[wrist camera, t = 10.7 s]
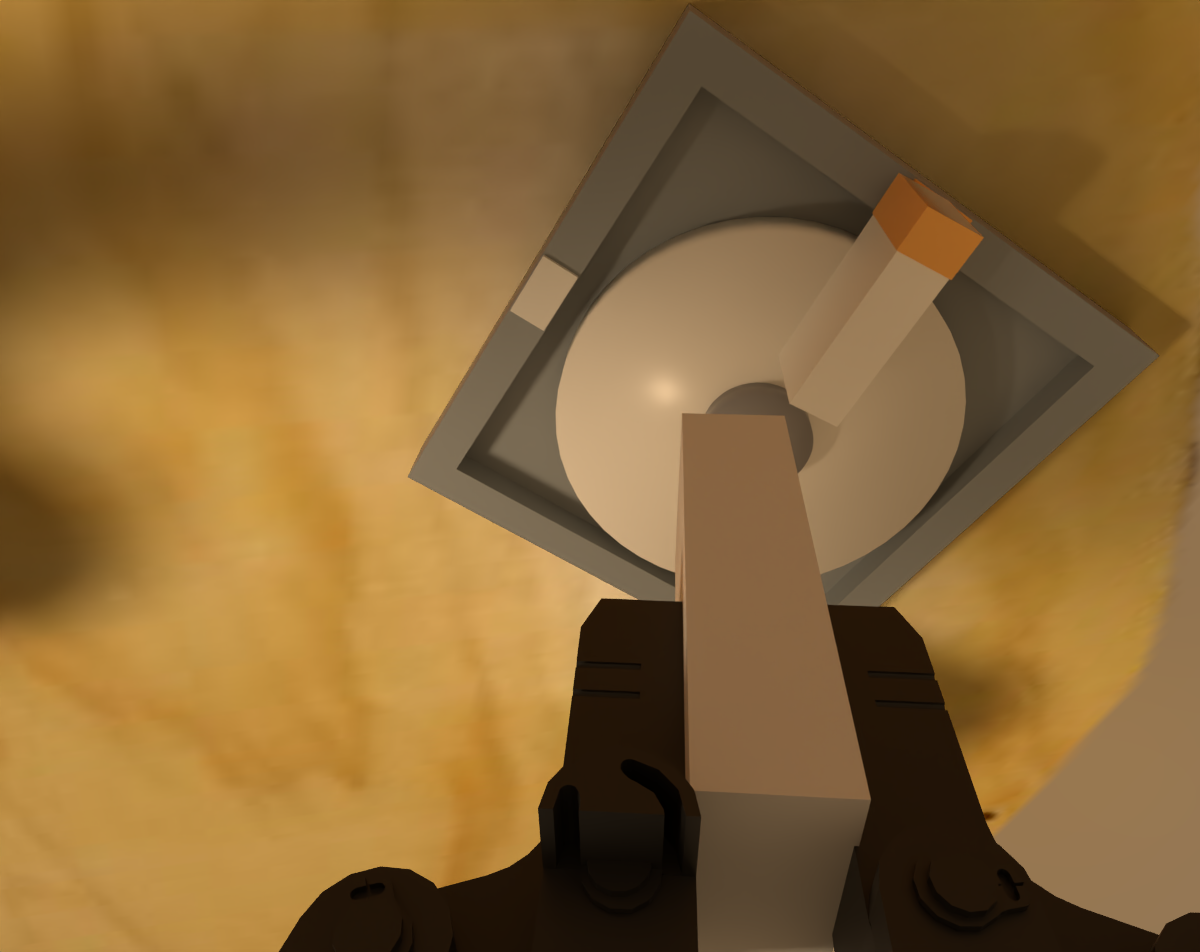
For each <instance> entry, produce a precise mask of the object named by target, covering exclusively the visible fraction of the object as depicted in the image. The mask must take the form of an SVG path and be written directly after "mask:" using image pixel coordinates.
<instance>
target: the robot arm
mask: <svg viewBox="0 0 1200 952" xmlns="http://www.w3.org/2000/svg"><path fill="white" fill-rule="evenodd" d="M934 674H935V673H934V670H933V667H932V665H931V662H930V659H929V656H928V653H927V650H926V647H925V644H924V641H923V639H922V637H921V636H920V635H919V634H918V633H917V632H916V631H915V630H914V628H913V627H912V626H911V625H910V624H909V623H908V622H907V621H906V620H905V618H904V617H903V616H902V615H901V614H900V613H899V612H898V611H897V610H896V609H895V607H876V606H850V605H827V602H826V598H825V593H824V589H823V584H822V580H821V575H820V571H819V566H818V562H817V558H816V553H815V549H814V544H813V540H812V535H811V531H810V526H809V522H808V518H807V513H806V509H805V504H804V500H803V495H802V491H801V486H800V482H799V477H798V473H797V469H796V464H795V460H794V455H793V451H792V446H791V442H790V437H789V433H788V429H787V424H786V420H785V416H776V415H736V414H695V413H682V425H681V446H680V467H679V488H678V509H677V530H676V551H675V601H653V600H627V599H601V600H600V601H599V603H598V604H597V605H596V607H595V608H594V610H593V611H592V612H591V614H590V615H589V617H588V618H587V619H586V621H585V622H584V624H583V625H582V626H581V631H580V639H579V647H578V655H577V667H576V670H575V678H574V686H573V696H572V702H571V710H570V718H569V726H568V734H567V741H566V749H565V757H564V765H563V767H562V768H561V769H560V770H559V771H558V773H557V774H556V775H555V776H554V777H553V778H552V779H551V780H550V781H549V782H548V784H547V786H546V789H545V791H544V794H543V797H542V799H541V802H540V805H539V807H538V813H539V826H540V839H541V842H540V843H539V844H538V845H537V846H536V847H535V848H534V849H533V850H532V851H531V852H530V853H529V854H528V855H526V856H525V857H523V858H522V859H520V860H519V861H517V862H516V863H514V864H513V865H511V866H510V867H508V868H505V869H502V870H500V871H497V872H495V873H492V874H489V875H487V876H483V877H479V878H476V879H472V880H468V881H464V882H460V883H457V884H453V885H449V886H445V887H442V888H438V889H437V887H436V886H435V884H434V883H433V882H431V881H429V880H428V879H426V878H424V877H422V876H421V875H419V874H417V873H415V872H413V871H412V870H410V869H401V868H391V867H377V868H373V869H369V870H366V871H362V872H358V873H354V874H350V875H349V876H347V877H346V878H344V879H342V880H341V881H339V882H338V883H336V884H334V885H333V886H331V887H330V888H328V889H327V890H325V891H323V892H322V893H321V894H320V895H319V897H318V898H317V899H316V900H315V901H314V902H313V904H312V905H311V906H310V907H309V908H308V909H307V911H306V912H305V913H304V914H303V915H302V916H301V918H300V919H299V920H298V922H297V924H296V925H295V927H294V928H293V930H292V932H291V933H290V935H289V937H288V938H287V940H286V941H285V943H284V945H283V946H282V948H281V949H280V951H279V952H832V951H833V947H834V951H835V952H1200V913H1188V914H1186V915H1184V916H1181V917H1179V918H1177V919H1175V920H1173V921H1171V922H1169V923H1167V924H1166V925H1165V927H1164V928H1163V930H1162V931H1161V933H1160V935H1157V934H1155V933H1152V932H1149V931H1146V930H1143V929H1140V928H1137V927H1135V926H1132V925H1129V924H1126V923H1123V922H1120V921H1117V920H1115V919H1112V918H1109V917H1106V916H1103V915H1100V914H1097V913H1094V912H1092V911H1088V910H1086V909H1083V908H1080V907H1078V906H1076V905H1074V904H1071V903H1069V902H1067V901H1065V900H1063V899H1060V898H1058V897H1056V896H1054V895H1053V894H1051V893H1049V892H1048V891H1046V890H1045V889H1043V888H1042V887H1040V886H1039V885H1037V884H1036V883H1034V882H1033V881H1031V880H1030V878H1029V876H1028V875H1027V873H1026V871H1025V869H1024V868H1023V867H1022V866H1021V865H1020V864H1019V863H1018V862H1017V861H1016V860H1015V859H1014V858H1012V857H1011V856H1010V855H1009V854H1008V853H1007V852H1006V851H1005V850H1004V849H1003V848H1002V847H1001V846H1000V845H998V844H997V843H996V842H995V840H994V838H993V836H992V834H991V832H990V829H989V827H988V825H987V823H986V821H985V818H984V815H983V812H982V809H981V806H980V803H979V800H978V798H977V795H976V792H975V789H974V786H973V783H972V780H971V777H970V774H969V772H968V769H967V766H966V763H965V760H964V757H963V754H962V751H961V748H960V746H959V743H958V740H957V737H956V734H955V731H954V728H953V725H952V722H951V720H950V717H949V714H948V711H947V710H945V707H944V705H945V702H944V699H943V696H942V694H941V691H940V688H939V685H938V682H937V681H936V680H935V679H934Z"/></svg>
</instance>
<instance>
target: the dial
mask: <svg viewBox="0 0 1200 952" xmlns="http://www.w3.org/2000/svg"><path fill="white" fill-rule="evenodd" d="M872 214H873V215H872V217H871V218H870V220H869V221H868V223H867V224H866V226H865V227H864V229H863V230H862V232H861V233H860V235H859V236H855V235H853V234H851V233H849V232H847V231H844V230H842V229H839V228H835V227H832V226H828V225H825V224H822V223H818V222H814V221H808V220H801V219H794V218H788V217H752V218H743V219H734V220H727V221H723V222H719V223H715V224H711V225H707V226H702V227H699V228H697V229H694V230H691V231H689V232H686V233H683V234H681V235H678V236H676V237H673V238H671V239H670V240H668V241H666V242H664V243H662V244H660V245H658V246H656V247H655V248H653V249H651V250H649V251H648V252H646V253H645V254H643V255H642V256H641V257H639V258H638V259H637V260H635V261H634V262H632V263H631V264H630V265H628V266H627V267H626V268H625V269H624V270H622V271H621V272H620V273H619V274H618V275H617V276H616V277H615V278H614V279H613V280H612V281H611V282H610V283H609V284H608V285H607V286H606V287H605V288H604V289H603V291H602V292H601V293H600V294H599V296H598V297H597V298H596V299H595V301H594V302H593V303H592V304H591V306H590V307H589V309H588V311H587V312H586V314H585V316H584V317H583V319H582V321H581V322H580V324H579V325H578V328H577V330H576V332H575V335H574V337H573V339H572V342H571V344H570V346H569V349H568V353H567V357H566V361H565V364H564V368H563V372H562V376H561V380H560V384H559V388H558V395H557V404H556V436H557V441H558V446H559V452H560V457H561V460H562V463H563V466H564V469H565V471H566V474H567V477H568V479H569V481H570V483H571V485H572V487H573V489H574V491H575V493H576V495H577V497H578V498H579V500H580V501H581V503H582V504H583V505H584V507H585V508H586V510H587V511H588V513H589V514H590V515H591V516H592V517H593V518H594V520H595V521H596V522H597V523H598V524H599V525H600V526H601V527H602V528H603V529H604V530H605V531H606V532H607V533H608V534H609V535H610V536H612V537H613V538H614V539H615V540H616V541H618V542H619V543H620V544H621V545H622V546H624V547H626V548H627V549H629V550H630V551H632V552H633V553H635V554H636V555H638V556H639V557H641V558H643V559H645V560H647V561H649V562H651V563H653V564H655V565H657V566H659V567H661V568H664V569H666V570H669V571H672V572H675V551H676V530H677V509H678V488H679V467H680V446H681V425H682V413H695V414H736V415H776V416H785V420H786V424H787V429H788V433H789V437H790V442H791V446H792V451H793V455H794V460H795V464H796V469H797V473H798V477H799V482H800V486H801V491H802V495H803V500H804V504H805V509H806V513H807V518H808V522H809V526H810V531H811V535H812V540H813V544H814V549H815V553H816V558H817V562H818V566H819V571H820V574H823V573H825V572H828V571H831V570H833V569H836V568H839V567H842V566H844V565H846V564H848V563H850V562H852V561H854V560H856V559H858V558H860V557H862V556H864V555H866V554H868V553H869V552H871V551H873V550H874V549H876V548H877V547H879V546H880V545H882V544H884V543H885V542H887V541H888V540H889V539H890V538H892V537H893V536H894V535H895V534H897V533H898V532H899V531H900V530H902V529H903V528H904V527H905V526H906V525H907V524H908V523H909V522H910V521H911V520H912V519H913V518H914V517H915V516H916V515H917V514H918V513H919V512H920V511H921V510H922V509H923V508H924V506H925V505H926V504H927V502H928V501H929V500H930V499H931V497H932V496H933V495H934V493H935V492H936V491H937V489H938V487H939V486H940V484H941V482H942V481H943V479H944V477H945V475H946V474H947V472H948V470H949V468H950V465H951V463H952V461H953V458H954V456H955V454H956V451H957V449H958V445H959V441H960V437H961V433H962V429H963V425H964V416H965V406H966V394H965V377H964V373H963V368H962V363H961V359H960V354H959V352H958V349H957V347H956V344H955V342H954V339H953V337H952V334H951V331H950V330H949V328H948V326H947V325H946V323H945V321H944V320H943V318H942V316H941V315H940V313H939V311H938V310H937V308H936V307H935V305H934V303H933V302H932V301H933V300H934V299H935V297H936V296H937V295H938V293H939V292H940V291H941V289H942V288H943V287H944V285H945V284H946V283H947V281H948V280H949V279H950V280H952V279H953V277H954V276H955V275H956V273H957V272H958V271H959V270H960V268H961V267H962V266H963V264H964V263H965V262H966V260H967V259H968V258H969V256H970V255H971V254H972V252H973V251H974V250H975V248H976V247H977V246H978V245H979V243H980V242H981V241H982V239H983V238H984V237H983V236H982V235H981V234H980V233H979V232H978V231H977V230H976V229H975V228H974V227H973V226H972V225H971V224H970V223H969V221H968V220H967V219H966V218H965V217H964V216H963V215H962V214H961V213H960V212H959V211H958V210H957V209H956V208H955V207H954V206H953V205H952V203H951V202H950V201H948V200H947V199H945V198H943V197H941V196H940V195H938V194H936V193H934V192H932V191H931V190H929V189H927V188H925V187H924V186H922V185H920V184H918V183H916V182H915V181H913V180H911V179H909V178H908V177H906V176H904V175H902V174H900V173H898V175H897V176H896V178H895V179H894V181H893V182H892V184H891V185H890V187H889V188H888V190H887V191H886V193H885V194H884V196H883V197H882V199H881V200H880V202H879V203H878V204H877V206H876V207H875V209H874V210H873V212H872Z"/></svg>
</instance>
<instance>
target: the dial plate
mask: <svg viewBox="0 0 1200 952" xmlns="http://www.w3.org/2000/svg"><path fill="white" fill-rule="evenodd" d="M898 173H900V174H902V175H904V176H906V177H908V178H909V179H911V180H913V181H915V182H916V183H918V184H920V185H922V186H924V187H925V188H927V189H929V190H931V191H932V192H934V193H936V194H938V195H940V196H941V197H943V198H945V199H947V200H948V201H950V202H951V203H952V205H953V206H954V207H955V208H956V209H957V210H958V211H959V212H960V213H961V214H962V215H963V216H964V217H965V218H966V219H967V220H968V221H969V223H970V224H971V225H972V226H973V227H974V228H975V229H976V230H977V231H978V232H979V233H980V234H981V235H982V236H983V237H984V238H983V239H982V241H981V242H980V243H979V245H978V246H977V247H976V248H975V250H974V251H973V252H972V254H971V255H970V256H969V258H968V259H967V260H966V262H965V263H964V264H963V266H962V267H961V268H960V270H959V271H958V272H957V273H956V275H955V276H954V277H953V279H952V280H950V279H949V280H948V281H947V283H946V284H945V285H944V287H943V288H942V289H941V291H940V292H939V293H938V295H937V296H936V297H935V299H934V300H933V301H932V302H933V303H934V305H935V307H936V308H937V310H938V311H939V313H940V315H941V316H942V318H943V320H944V321H945V323H946V325H947V326H948V328H949V330H950V331H951V334H952V337H953V339H954V342H955V344H956V347H957V349H958V352H959V354H960V359H961V363H962V368H963V373H964V377H965V394H966V406H965V416H964V425H963V429H962V433H961V437H960V441H959V445H958V449H957V451H956V454H955V456H954V458H953V461H952V463H951V465H950V468H949V470H948V472H947V474H946V475H945V477H944V479H943V481H942V482H941V484H940V486H939V487H938V489H937V491H936V492H935V493H934V495H933V496H932V497H931V499H930V500H929V501H928V502H927V504H926V505H925V506H924V508H923V509H922V510H921V511H920V512H919V513H918V514H917V515H916V516H915V517H914V518H913V519H912V520H911V521H910V522H909V523H908V524H907V525H906V526H905V527H904V528H903V529H902V530H900V531H899V532H898V533H897V534H895V535H894V536H893V537H892V538H890V539H889V540H888V541H887V542H885V543H884V544H882V545H880V546H879V547H877V548H876V549H874V550H873V551H871V552H869V553H868V554H866V555H864V556H862V557H860V558H858V559H856V560H854V561H852V562H850V563H848V564H846V565H844V566H842V567H839V568H836V569H833V570H831V571H828V572H825V573H823V574H820V575H821V580H822V584H823V589H824V593H825V598H826V602H827V605H850V606H876V607H879V606H880V605H881V604H882V603H884V602H885V601H886V600H887V599H888V598H889V597H890V596H891V595H893V594H894V593H895V592H896V591H897V590H898V589H899V588H900V587H901V586H903V585H904V584H905V583H906V582H907V581H908V580H909V579H910V578H912V577H913V576H914V575H915V574H916V573H917V572H918V571H919V570H921V569H922V568H923V567H924V566H925V565H926V564H927V563H928V562H929V561H931V560H932V559H933V558H934V557H935V556H936V555H937V554H938V553H940V552H941V551H942V550H943V549H944V548H945V547H946V546H947V545H948V544H950V543H951V542H952V541H953V540H954V539H955V538H956V537H957V536H959V535H960V534H961V533H962V532H963V531H964V530H965V529H966V528H967V527H969V526H970V525H971V524H972V523H973V522H974V521H975V520H976V519H978V518H979V517H980V516H981V515H982V514H983V513H984V512H985V511H987V510H988V509H989V508H990V507H991V506H992V505H993V504H994V503H995V502H997V501H998V500H999V499H1000V498H1001V497H1002V496H1003V495H1004V494H1006V493H1007V492H1008V491H1009V490H1010V489H1011V488H1012V487H1013V486H1014V485H1016V484H1017V483H1018V482H1019V481H1020V480H1021V479H1022V478H1023V477H1025V476H1026V475H1027V474H1028V473H1029V472H1030V471H1031V470H1032V469H1034V468H1035V467H1036V466H1037V465H1038V464H1039V463H1040V462H1041V461H1042V460H1044V459H1045V458H1046V457H1047V456H1048V455H1049V454H1050V453H1051V452H1053V451H1054V450H1055V449H1056V448H1057V447H1058V446H1059V445H1060V444H1061V443H1063V442H1064V441H1065V440H1066V439H1067V438H1068V437H1069V436H1070V435H1072V434H1073V433H1074V432H1075V431H1076V430H1077V429H1078V428H1079V427H1081V426H1082V425H1083V424H1084V423H1085V422H1086V421H1087V420H1088V419H1089V418H1091V417H1092V416H1093V415H1094V414H1095V413H1096V412H1097V411H1098V410H1100V409H1101V408H1102V407H1103V406H1104V405H1105V404H1106V403H1107V402H1108V401H1110V400H1111V399H1112V398H1113V397H1114V396H1115V395H1116V394H1117V393H1119V392H1120V391H1121V390H1122V389H1123V388H1124V387H1125V386H1126V385H1128V384H1129V383H1130V382H1131V381H1132V380H1133V379H1134V378H1135V377H1136V376H1138V375H1139V374H1140V373H1141V372H1142V371H1143V370H1144V369H1145V368H1147V367H1148V366H1149V365H1150V364H1151V363H1152V362H1153V361H1154V360H1155V359H1157V358H1158V357H1159V355H1158V354H1157V353H1156V352H1155V351H1154V350H1153V349H1151V348H1150V347H1149V346H1148V345H1147V344H1146V343H1145V342H1144V341H1143V340H1142V339H1141V338H1139V337H1138V336H1137V335H1136V334H1135V333H1134V332H1133V331H1132V330H1131V329H1130V328H1128V327H1127V326H1126V325H1124V324H1123V323H1122V322H1120V321H1119V320H1118V319H1116V318H1115V317H1113V316H1112V315H1111V314H1109V313H1108V312H1107V311H1105V310H1104V309H1103V308H1101V307H1100V306H1099V305H1097V304H1096V303H1094V302H1093V301H1092V300H1090V299H1089V298H1088V297H1086V296H1085V295H1084V294H1082V293H1081V292H1080V291H1078V290H1077V289H1076V288H1074V287H1073V286H1071V285H1070V284H1069V283H1067V282H1066V281H1065V280H1063V279H1062V278H1061V277H1059V276H1058V275H1057V274H1055V273H1054V272H1052V271H1051V270H1050V269H1048V268H1047V267H1046V266H1044V265H1043V264H1042V263H1040V262H1039V261H1038V260H1036V259H1035V258H1034V257H1032V256H1031V255H1029V254H1028V253H1027V252H1025V251H1024V250H1023V249H1021V248H1020V247H1019V246H1017V245H1016V244H1015V243H1013V242H1012V241H1010V240H1009V239H1008V238H1006V237H1005V236H1004V235H1002V234H1001V233H1000V232H998V231H997V230H996V229H994V228H993V227H991V226H990V225H989V224H987V223H986V222H985V221H983V220H982V219H981V218H979V217H978V216H977V215H975V214H974V213H973V212H971V211H970V210H968V209H967V208H966V207H964V206H963V205H962V204H960V203H959V202H958V201H956V200H955V199H954V198H952V197H951V196H949V195H948V194H947V193H945V192H944V191H943V190H941V189H940V188H939V187H937V186H936V185H935V184H933V183H932V182H930V181H929V180H928V179H926V178H925V177H924V176H922V175H921V174H920V173H918V172H917V171H916V170H914V169H913V168H912V167H910V166H909V165H907V164H906V163H905V162H903V161H902V160H901V159H899V158H898V157H897V156H895V155H894V154H893V153H891V152H890V151H888V150H887V149H886V148H884V147H883V146H882V145H880V144H879V143H878V142H876V141H875V140H874V139H872V138H871V137H869V136H868V135H867V134H865V133H864V132H863V131H861V130H860V129H859V128H857V127H856V126H855V125H853V124H852V123H851V122H849V121H848V120H846V119H845V118H844V117H842V116H841V115H840V114H838V113H837V112H836V111H834V110H833V109H832V108H830V107H829V106H827V105H826V104H825V103H823V102H822V101H821V100H819V99H818V98H817V97H815V96H814V95H813V94H811V93H810V92H809V91H807V90H806V89H804V88H803V87H802V86H800V85H799V84H798V83H796V82H795V81H794V80H792V79H791V78H790V77H788V76H787V75H785V74H784V73H783V72H781V71H780V70H779V69H777V68H776V67H775V66H773V65H772V64H771V63H769V62H768V61H766V60H765V59H764V58H762V57H761V56H760V55H758V54H757V53H756V52H754V51H753V50H752V49H750V48H749V47H748V46H746V45H745V44H743V43H742V42H741V41H739V40H738V39H737V38H735V37H734V36H733V35H731V34H730V33H729V32H727V31H726V30H724V29H723V28H722V27H720V26H719V25H718V24H716V23H715V22H714V21H712V20H711V19H710V18H708V17H707V16H705V15H704V14H703V13H701V12H700V11H699V10H697V9H696V8H695V7H693V6H692V5H691V4H688V6H687V7H686V9H685V11H684V12H683V14H682V16H681V17H680V19H679V21H678V22H677V24H676V26H675V27H674V29H673V31H672V32H671V34H670V36H669V37H668V39H667V41H666V42H665V44H664V46H663V47H662V49H661V51H660V52H659V54H658V56H657V57H656V59H655V61H654V62H653V64H652V66H651V67H650V69H649V71H648V72H647V74H646V76H645V77H644V79H643V80H642V82H641V84H640V85H639V87H638V89H637V90H636V92H635V94H634V95H633V97H632V99H631V100H630V102H629V104H628V105H627V107H626V109H625V110H624V112H623V114H622V115H621V117H620V119H619V120H618V122H617V124H616V125H615V127H614V129H613V130H612V132H611V134H610V135H609V137H608V139H607V140H606V142H605V144H604V145H603V147H602V149H601V150H600V152H599V154H598V155H597V157H596V159H595V160H594V162H593V164H592V165H591V167H590V169H589V170H588V172H587V174H586V175H585V177H584V179H583V180H582V182H581V183H580V185H579V187H578V188H577V190H576V192H575V193H574V195H573V197H572V198H571V200H570V202H569V203H568V205H567V207H566V208H565V210H564V212H563V213H562V215H561V217H560V218H559V220H558V222H557V223H556V225H555V227H554V228H553V230H552V232H551V233H550V235H549V237H548V238H547V240H546V242H545V243H544V245H543V247H542V248H541V250H540V252H539V253H538V255H537V257H536V258H535V260H534V262H533V263H532V265H531V267H530V268H529V270H528V272H527V273H526V275H525V277H524V278H523V280H522V282H521V283H520V285H519V286H518V288H517V290H516V291H515V293H514V295H513V296H512V298H511V300H510V301H509V303H508V305H507V306H506V308H505V310H504V311H503V313H502V315H501V316H500V318H499V320H498V321H497V323H496V325H495V326H494V328H493V330H492V331H491V333H490V335H489V336H488V338H487V340H486V341H485V343H484V345H483V346H482V348H481V350H480V351H479V353H478V355H477V356H476V358H475V360H474V361H473V363H472V365H471V366H470V368H469V370H468V371H467V373H466V375H465V376H464V378H463V380H462V381H461V383H460V385H459V386H458V388H457V389H456V391H455V393H454V394H453V396H452V398H451V399H450V401H449V403H448V404H447V406H446V408H445V409H444V411H443V413H442V414H441V416H440V418H439V419H438V421H437V423H436V424H435V426H434V428H433V429H432V431H431V433H430V434H429V436H428V438H427V439H426V441H425V443H424V444H423V446H422V448H421V450H420V452H419V454H418V456H417V458H416V460H415V463H414V465H413V467H412V469H411V471H410V473H409V475H408V477H409V478H410V479H412V480H414V481H416V482H418V483H420V484H422V485H424V486H426V487H427V488H429V489H431V490H433V491H435V492H437V493H439V494H441V495H443V496H444V497H446V498H448V499H450V500H452V501H454V502H456V503H458V504H459V505H461V506H463V507H465V508H467V509H469V510H471V511H473V512H475V513H476V514H478V515H480V516H482V517H484V518H486V519H488V520H490V521H492V522H493V523H495V524H497V525H499V526H501V527H503V528H505V529H507V530H508V531H510V532H512V533H514V534H516V535H518V536H520V537H522V538H524V539H525V540H527V541H529V542H531V543H533V544H535V545H537V546H539V547H541V548H542V549H544V550H546V551H548V552H550V553H552V554H554V555H556V556H557V557H559V558H561V559H563V560H565V561H567V562H569V563H571V564H573V565H574V566H576V567H578V568H580V569H582V570H584V571H586V572H588V573H589V574H591V575H593V576H595V577H597V578H599V579H601V580H603V581H605V582H606V583H608V584H610V585H612V586H614V587H616V588H618V589H620V590H622V591H623V592H625V593H627V594H629V595H631V596H633V597H635V598H637V599H638V600H653V601H675V572H672V571H669V570H666V569H664V568H661V567H659V566H657V565H655V564H653V563H651V562H649V561H647V560H645V559H643V558H641V557H639V556H638V555H636V554H635V553H633V552H632V551H630V550H629V549H627V548H626V547H624V546H622V545H621V544H620V543H619V542H618V541H616V540H615V539H614V538H613V537H612V536H610V535H609V534H608V533H607V532H606V531H605V530H604V529H603V528H602V527H601V526H600V525H599V524H598V523H597V522H596V521H595V520H594V518H593V517H592V516H591V515H590V514H589V513H588V511H587V510H586V508H585V507H584V505H583V504H582V503H581V501H580V500H579V498H578V497H577V495H576V493H575V491H574V489H573V487H572V485H571V483H570V481H569V479H568V477H567V474H566V471H565V469H564V466H563V463H562V460H561V457H560V452H559V446H558V441H557V436H556V404H557V395H558V388H559V384H560V380H561V376H562V372H563V368H564V364H565V361H566V357H567V353H568V349H569V346H570V344H571V342H572V339H573V337H574V335H575V332H576V330H577V328H578V325H579V324H580V322H581V321H582V319H583V317H584V316H585V314H586V312H587V311H588V309H589V307H590V306H591V304H592V303H593V302H594V301H595V299H596V298H597V297H598V296H599V294H600V293H601V292H602V291H603V289H604V288H605V287H606V286H607V285H608V284H609V283H610V282H611V281H612V280H613V279H614V278H615V277H616V276H617V275H618V274H619V273H620V272H621V271H622V270H624V269H625V268H626V267H627V266H628V265H630V264H631V263H632V262H634V261H635V260H637V259H638V258H639V257H641V256H642V255H643V254H645V253H646V252H648V251H649V250H651V249H653V248H655V247H656V246H658V245H660V244H662V243H664V242H666V241H668V240H670V239H671V238H673V237H676V236H678V235H681V234H683V233H686V232H689V231H691V230H694V229H697V228H699V227H702V226H707V225H711V224H715V223H719V222H723V221H727V220H734V219H743V218H752V217H788V218H794V219H801V220H808V221H814V222H818V223H822V224H825V225H828V226H832V227H835V228H839V229H842V230H844V231H847V232H849V233H851V234H853V235H855V236H859V235H860V233H861V232H862V230H863V229H864V227H865V226H866V224H867V223H868V221H869V220H870V218H871V217H872V215H873V214H872V212H873V210H874V209H875V207H876V206H877V204H878V203H879V202H880V200H881V199H882V197H883V196H884V194H885V193H886V191H887V190H888V188H889V187H890V185H891V184H892V182H893V181H894V179H895V178H896V176H897V175H898Z"/></svg>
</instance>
